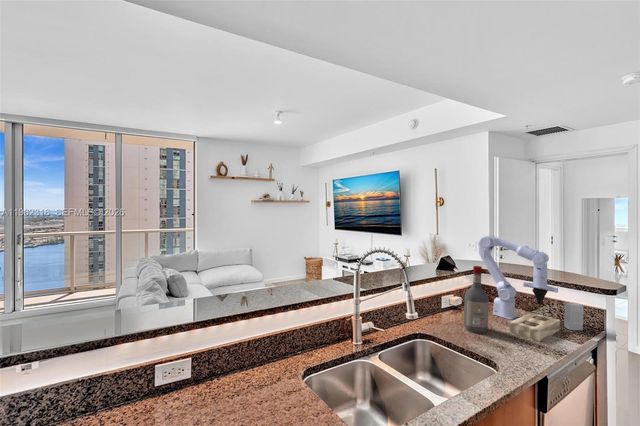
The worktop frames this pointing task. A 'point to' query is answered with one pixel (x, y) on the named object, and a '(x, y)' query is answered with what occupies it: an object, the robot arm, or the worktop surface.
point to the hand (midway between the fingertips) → (539, 303)
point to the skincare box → (573, 316)
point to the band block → (535, 327)
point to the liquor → (476, 305)
